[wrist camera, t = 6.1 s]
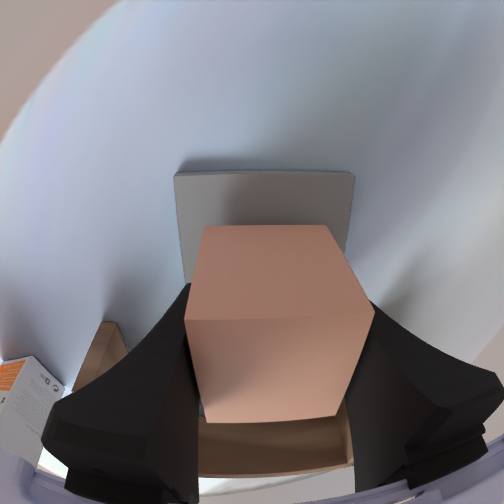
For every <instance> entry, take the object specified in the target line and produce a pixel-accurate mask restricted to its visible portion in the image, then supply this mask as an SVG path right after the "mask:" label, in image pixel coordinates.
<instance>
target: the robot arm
mask: <svg viewBox="0 0 504 504" xmlns="http://www.w3.org/2000/svg"><path fill="white" fill-rule="evenodd" d="M190 288H191V283H187V284H186V285H185V287H184V288H183V289H182V291H181V292H180V294H179V295H178V297H177V298H176V300H175V301H174V302H173V304H172V305H171V306H170V308H169V309H168V310H167V312H166V313H165V314H164V315H163V317H162V318H161V319H160V321H159V322H158V323H157V324H156V325H155V326H154V327H153V329H152V330H151V331H150V332H149V333H148V334H147V335H146V337H145V338H144V339H143V340H142V341H141V342H140V343H139V344H138V345H137V346H136V347H135V348H134V349H133V350H132V351H131V352H129V353H128V354H127V355H126V356H125V357H124V358H123V359H121V360H120V361H119V362H118V363H117V364H115V365H114V366H113V367H112V368H110V369H109V370H108V371H106V372H105V373H104V374H102V375H101V376H99V377H98V378H96V379H95V380H93V381H92V382H90V383H89V384H87V385H86V386H84V387H82V388H81V389H79V390H77V391H75V392H73V393H71V394H70V395H68V396H66V397H64V398H62V399H60V400H58V401H56V402H54V404H53V406H52V409H51V411H50V413H49V416H48V418H47V421H46V424H45V427H44V430H43V433H42V436H41V440H40V441H41V443H42V444H43V446H44V448H45V449H46V450H47V451H48V452H49V453H51V454H52V455H53V456H54V457H55V458H57V459H58V460H59V461H60V462H62V463H63V464H64V465H65V466H67V467H68V468H69V469H68V473H67V477H66V479H64V478H61V477H58V476H55V475H52V474H50V473H47V472H45V471H42V470H40V469H37V468H35V467H34V466H33V465H32V464H31V463H30V462H28V461H27V460H25V459H24V458H22V457H21V456H19V455H17V454H15V453H13V452H11V451H9V450H6V449H4V448H2V447H1V446H0V504H198V503H199V484H198V423H199V404H200V393H199V388H198V384H197V380H196V375H195V371H194V366H193V362H192V357H191V352H190V347H189V342H188V337H187V332H186V327H185V322H184V317H185V312H186V307H187V302H188V298H189V293H190ZM368 300H369V299H368ZM369 301H370V300H369ZM370 303H371V305H372V307H373V309H374V311H375V314H374V317H373V320H372V323H371V326H370V329H369V332H368V335H367V338H366V340H365V343H364V346H363V349H362V352H361V354H360V357H359V360H358V362H357V365H356V367H355V370H354V372H353V375H352V378H351V380H350V382H349V385H348V387H347V390H346V392H345V394H344V399H345V404H346V409H347V415H348V420H349V427H350V433H351V440H352V449H353V459H354V472H355V493H354V494H349V495H345V496H340V497H335V498H329V499H323V500H317V501H310V502H304V503H294V504H393V503H397V502H399V501H403V500H405V499H408V498H411V497H414V496H415V498H414V499H411V500H409V501H407V502H404V503H402V504H502V503H503V502H504V434H502V435H501V436H499V437H497V438H496V439H494V440H492V441H490V442H488V443H487V444H486V443H485V441H484V439H483V437H482V434H484V433H485V427H484V425H483V423H484V422H485V421H486V420H487V418H488V417H489V416H490V415H491V414H492V413H493V412H494V411H495V410H496V409H497V408H498V407H499V405H500V404H501V403H502V401H503V400H504V387H503V385H502V384H501V382H500V380H499V378H498V377H497V375H496V374H495V372H491V371H489V370H486V369H482V368H479V367H476V366H473V365H471V364H468V363H466V362H463V361H461V360H459V359H456V358H454V357H452V356H450V355H448V354H446V353H444V352H442V351H440V350H438V349H436V348H435V347H433V346H431V345H429V344H428V343H426V342H424V341H423V340H421V339H419V338H418V337H416V336H415V335H413V334H412V333H410V332H409V331H407V330H406V329H405V328H403V327H402V326H400V325H399V324H398V323H397V322H395V321H394V320H393V319H391V318H390V317H389V316H388V315H386V314H385V313H384V312H383V311H382V310H380V309H379V308H378V307H377V306H376V305H375V304H373V303H372V302H371V301H370ZM416 495H417V496H416Z"/></svg>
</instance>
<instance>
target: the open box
mask: <svg viewBox="0 0 504 504" xmlns="http://www.w3.org/2000/svg"><path fill="white" fill-rule="evenodd" d="M127 354H128V351H127V348H126V346H125V343H124V341H123V338H122V336H121V333H120V330H119V327H118V325H117V323H114V322H101V324H100V326H99V328H98V330H97V332H96V334H95V337H94V339H93V341H92V343H91V346H90V348H89V350H88V352H87V355H86V357H85V359H84V362H83V364H82V366H81V369H80V371H79V373H78V376H77V378H76V381H75V383H74V386H73V388H72V393H73V392H75V391H77V390H79V389H81V388H82V387H84V386H86V385H87V384H89V383H90V382H92V381H93V380H95V379H96V378H98V377H99V376H101V375H102V374H104V373H105V372H106V371H108V370H109V369H110V368H112V367H113V366H114V365H115V364H117V363H118V362H119V361H120V360H121V359H123V358H124V357H125V356H126V355H127ZM350 466H354V459H353V449H352V440H351V433H350V427H349V420H348V415H347V409H346V404H345V399H344V397H343V399H342V401H341V404H340V406H339V408H338V410H337V413H336V415H334V416H327V417H319V418H311V419H301V420H290V421H276V422H255V423H207V421H206V417H202V416H199V423H198V477H203V478H262V477H278V476H289V475H299V474H307V473H315V472H322V471H328V470H334V469H339V468H345V467H350Z"/></svg>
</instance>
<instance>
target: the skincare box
mask: <svg viewBox="0 0 504 504" xmlns="http://www.w3.org/2000/svg"><path fill="white" fill-rule="evenodd" d="M64 391H65V388H64V386H63V385H62V384H61V383H60V382H59V381H58V380H56V379H55V378H54V377H53V376H52V375H51V374H50V373H49V372H48V371H47V370H46V369H45V368H44V367H43V366H42V365H41V364H40V363H39V362H38V360H37V359H36V358H35V357H34V356H32V355H30V356H28V357H24V358H20V359H15V360H9V361H3V362H2V363H1V365H0V446H1V447H2V448H4V449H6V450H9V451H11V452H13V453H15V454H17V455H19V456H21V457H22V458H24V459H25V460H27V461H28V462H30V463H31V464H32V465H33V466H34V467H35V468H37V464H38V461H39V458H40V455H41V452H42V449H43V444H42V443H41V441H40V440H41V436H42V433H43V430H44V427H45V424H46V421H47V418H48V416H49V413H50V411H51V409H52V406H53V404H54V402H56V401H58V400H60V399H61V398H62V395H63V393H64Z"/></svg>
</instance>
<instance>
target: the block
mask: <svg viewBox="0 0 504 504" xmlns="http://www.w3.org/2000/svg"><path fill="white" fill-rule="evenodd" d="M374 314H375V311H374V309H373V307H372V305H371V303H370V301H369V300H368V298H367V296H366V294H365V292H364V290H363V288H362V287H361V285H360V283H359V281H358V279H357V278H356V276H355V274H354V272H353V270H352V269H351V267H350V265H349V263H348V262H347V260H346V258H345V256H344V255H343V253H342V251H341V250H340V248H339V246H338V245H337V243H336V241H335V239H334V238H333V236H332V234H331V233H330V231H329V229H328V228H327V226H326V225H235V226H205V227H204V231H203V235H202V239H201V243H200V248H199V252H198V256H197V261H196V265H195V270H194V274H193V279H192V283H191V288H190V293H189V298H188V302H187V307H186V312H185V317H184V322H185V327H186V332H187V337H188V342H189V347H190V352H191V357H192V362H193V366H194V371H195V375H196V380H197V384H198V388H199V393H200V397H201V401H202V405H203V409H204V413H205V417H206V421H207V423H255V422H276V421H290V420H301V419H311V418H319V417H327V416H334V415H336V413H337V410H338V408H339V406H340V404H341V401H342V399H343V397H344V394H345V392H346V390H347V387H348V385H349V382H350V380H351V378H352V375H353V372H354V370H355V367H356V365H357V362H358V360H359V357H360V354H361V352H362V349H363V346H364V343H365V340H366V338H367V335H368V332H369V329H370V326H371V323H372V320H373V317H374Z"/></svg>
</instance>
